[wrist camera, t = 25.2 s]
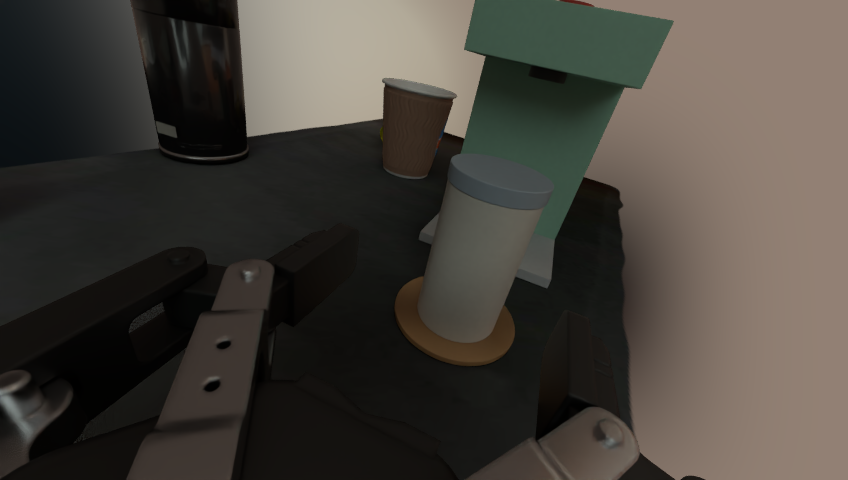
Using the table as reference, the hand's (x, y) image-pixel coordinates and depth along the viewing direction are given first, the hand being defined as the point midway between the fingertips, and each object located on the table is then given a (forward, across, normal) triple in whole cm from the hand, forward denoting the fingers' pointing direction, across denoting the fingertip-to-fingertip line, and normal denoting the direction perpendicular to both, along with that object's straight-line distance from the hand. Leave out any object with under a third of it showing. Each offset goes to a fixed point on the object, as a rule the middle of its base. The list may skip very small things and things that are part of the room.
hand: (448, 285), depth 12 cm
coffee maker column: (+30, 0, +9) cm, 31 cm away
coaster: (+9, 0, +9) cm, 13 cm away
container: (+9, 0, +9) cm, 13 cm away
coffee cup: (+36, +16, +9) cm, 40 cm away
